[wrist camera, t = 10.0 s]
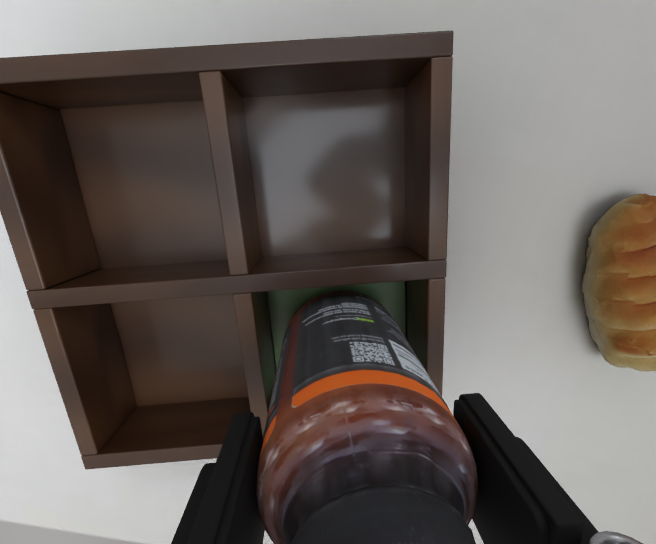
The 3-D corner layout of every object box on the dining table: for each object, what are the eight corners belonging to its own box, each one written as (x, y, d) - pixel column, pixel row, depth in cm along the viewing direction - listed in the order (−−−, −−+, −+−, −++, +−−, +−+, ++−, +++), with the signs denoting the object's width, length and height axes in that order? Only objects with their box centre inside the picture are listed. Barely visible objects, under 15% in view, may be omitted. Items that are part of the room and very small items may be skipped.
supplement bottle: (312, 405, 17) (305, 774, 6) (264, 314, 16) (148, 589, 5) (413, 365, 17) (589, 686, 6) (373, 267, 15) (509, 456, 5)
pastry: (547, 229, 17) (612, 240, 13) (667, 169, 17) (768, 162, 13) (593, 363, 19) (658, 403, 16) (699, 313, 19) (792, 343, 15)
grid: (47, 94, 15) (-52, 60, 11) (417, 71, 15) (454, 29, 11) (132, 411, 19) (85, 469, 15) (415, 388, 19) (441, 439, 16)
